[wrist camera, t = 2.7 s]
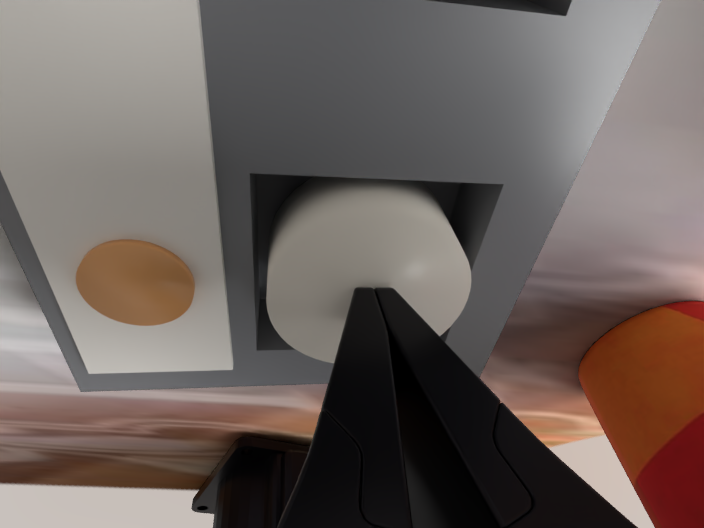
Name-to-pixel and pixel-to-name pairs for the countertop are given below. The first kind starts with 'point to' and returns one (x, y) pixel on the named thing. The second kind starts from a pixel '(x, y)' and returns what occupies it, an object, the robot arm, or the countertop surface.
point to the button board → (279, 157)
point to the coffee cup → (655, 407)
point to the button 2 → (360, 257)
